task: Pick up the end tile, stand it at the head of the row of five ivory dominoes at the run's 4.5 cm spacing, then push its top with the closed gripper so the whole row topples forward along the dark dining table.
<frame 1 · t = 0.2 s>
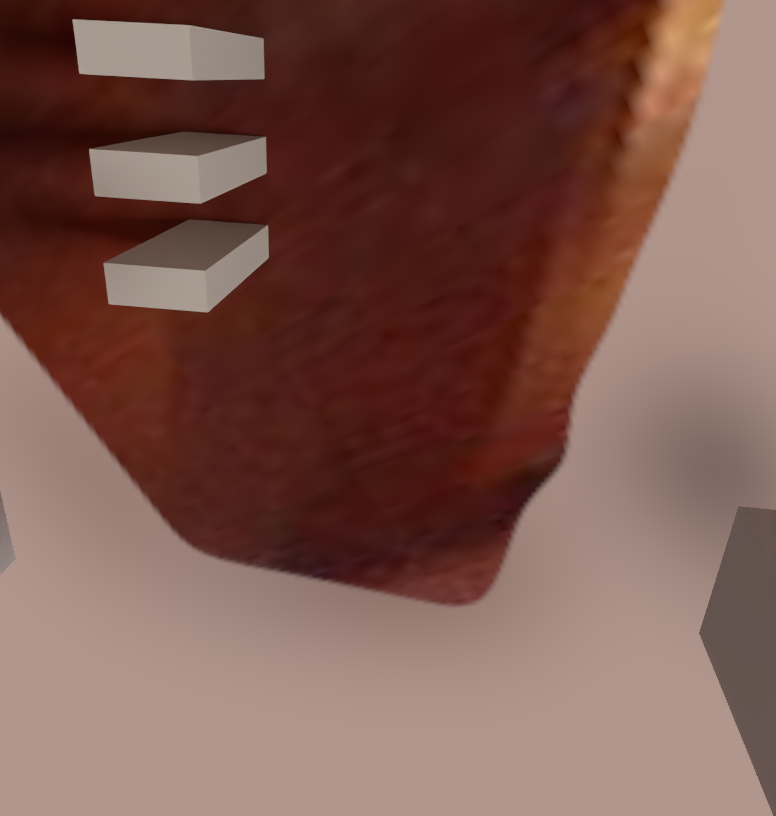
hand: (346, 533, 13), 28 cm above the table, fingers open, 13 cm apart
tile 5: (225, 152, 37), on the table
tile 4: (220, 56, 35), on the table
tile 6: (229, 238, 39), on the table
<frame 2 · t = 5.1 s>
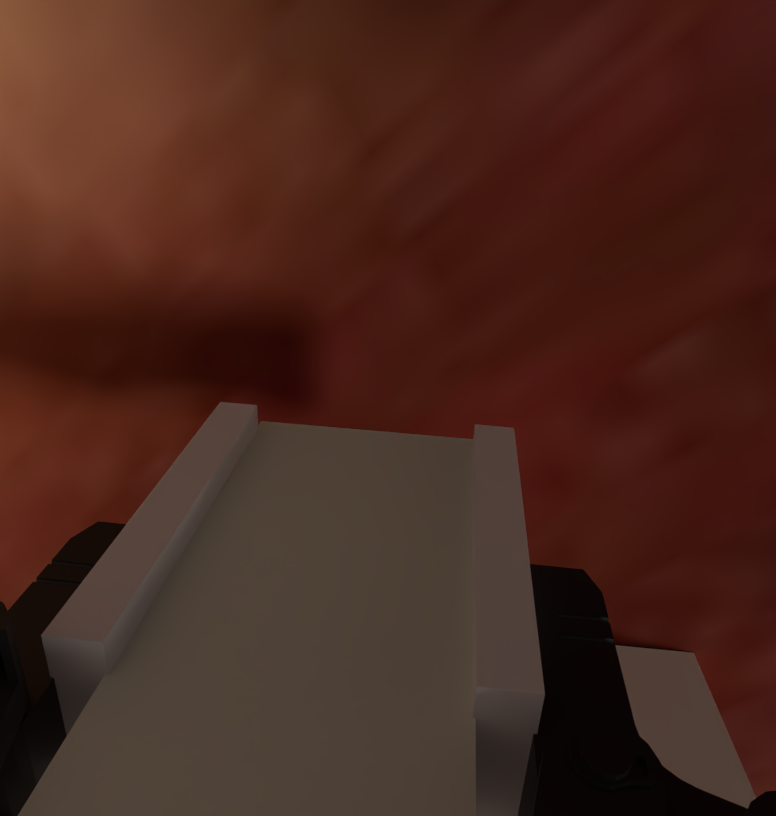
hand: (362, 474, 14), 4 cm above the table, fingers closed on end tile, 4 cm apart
end tile: (365, 468, 15), point 4 cm above the table, touching gripper
tile 2: (613, 668, 21), on the table
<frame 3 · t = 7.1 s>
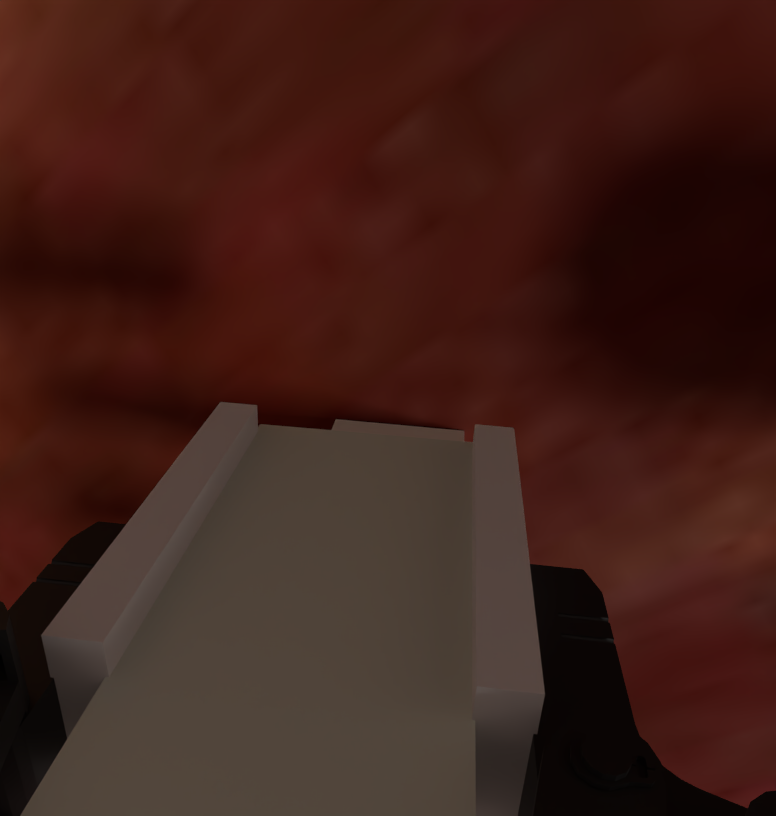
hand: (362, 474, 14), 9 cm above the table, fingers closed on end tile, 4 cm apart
end tile: (364, 471, 15), point 9 cm above the table, touching gripper
tile 2: (398, 447, 24), on the table
when the fingers open (0 cm above the table, at t = 9.2 s): end tile stays where it is, on the table.
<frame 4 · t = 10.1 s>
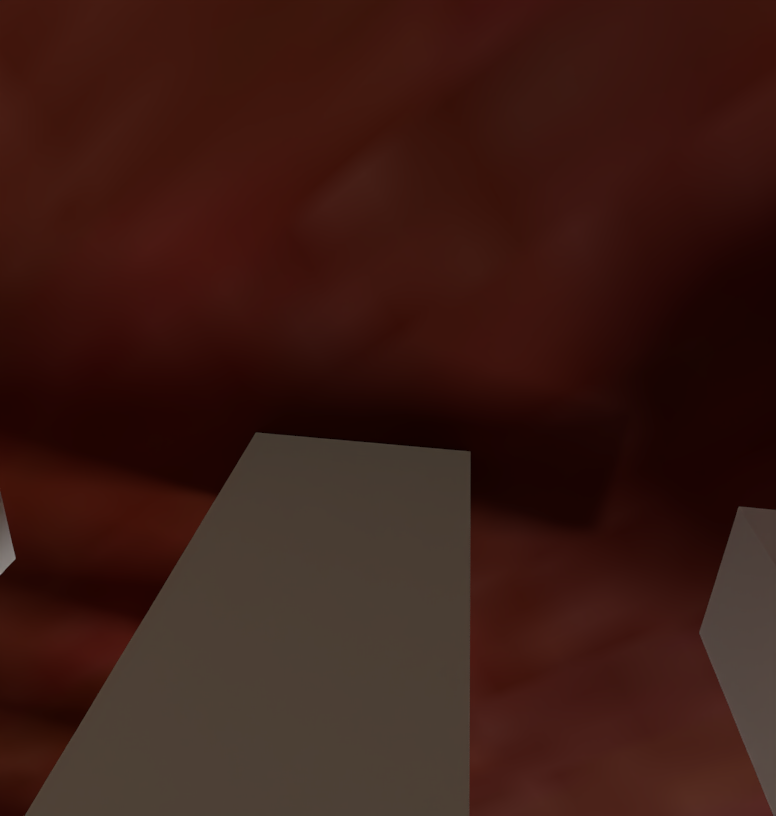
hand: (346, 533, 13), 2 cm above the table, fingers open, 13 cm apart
end tile: (360, 479, 15), on the table
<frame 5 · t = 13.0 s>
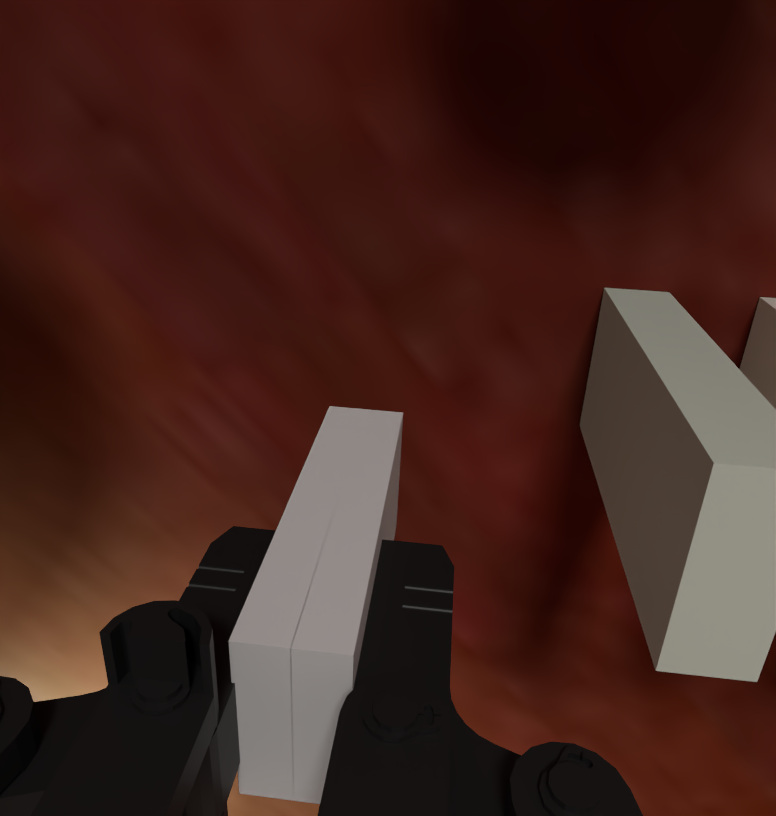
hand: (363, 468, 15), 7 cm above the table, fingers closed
end tile: (622, 362, 21), on the table
tile 2: (771, 372, 20), on the table
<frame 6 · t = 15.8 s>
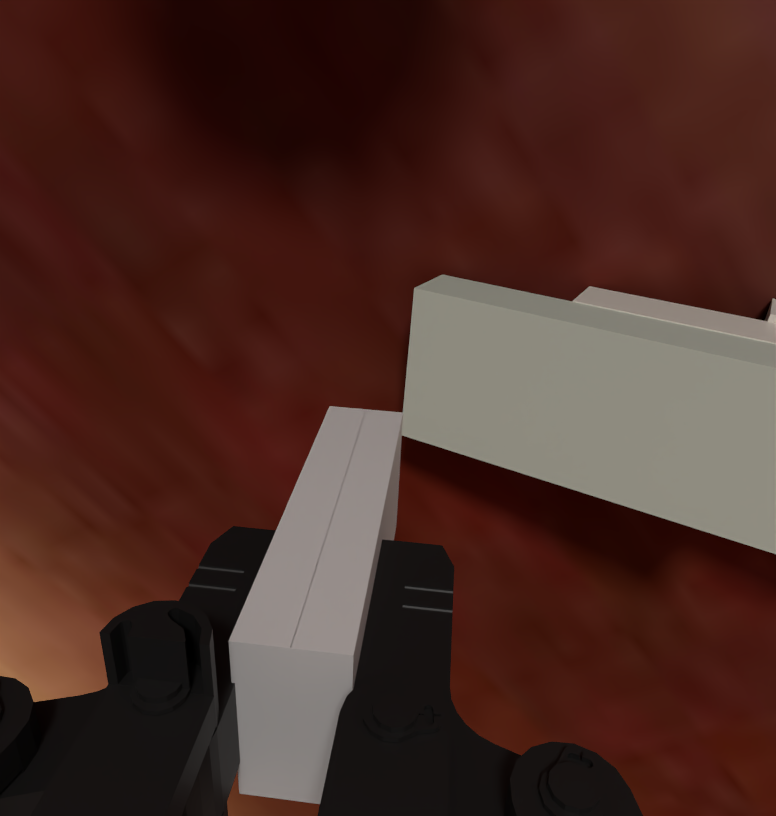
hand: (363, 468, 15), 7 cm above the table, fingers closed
end tile: (421, 355, 20), point 1 cm above the table, tilted 68°, touching tile 2
tile 2: (566, 367, 20), point 1 cm above the table, tilted 68°, touching end tile, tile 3
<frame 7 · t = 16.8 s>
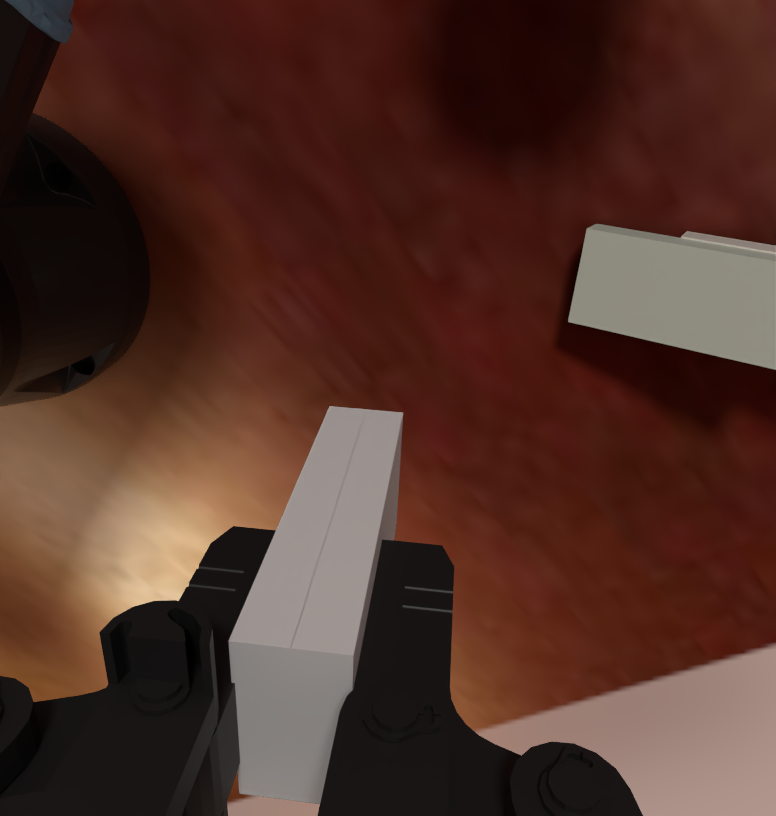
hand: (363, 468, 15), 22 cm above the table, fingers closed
end tile: (582, 273, 33), point 1 cm above the table, tilted 68°, touching tile 2
tile 2: (671, 280, 33), point 1 cm above the table, tilted 68°, touching end tile
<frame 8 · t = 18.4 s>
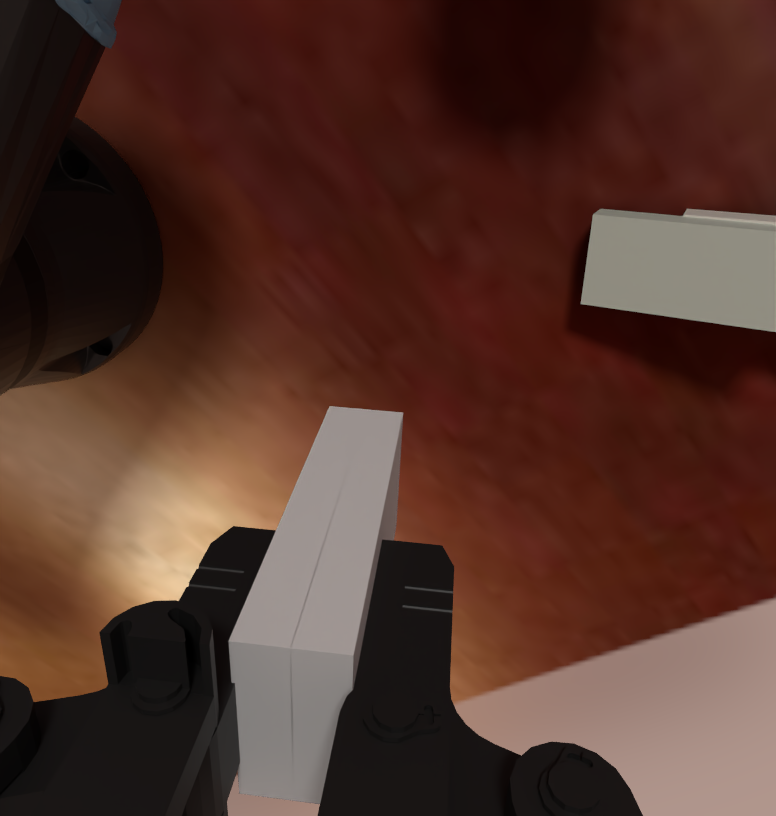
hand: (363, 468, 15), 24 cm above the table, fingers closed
end tile: (590, 256, 35), point 1 cm above the table, tilted 70°, touching tile 2
tile 2: (676, 256, 35), point 1 cm above the table, tilted 70°, touching end tile, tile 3
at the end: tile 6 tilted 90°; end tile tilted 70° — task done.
